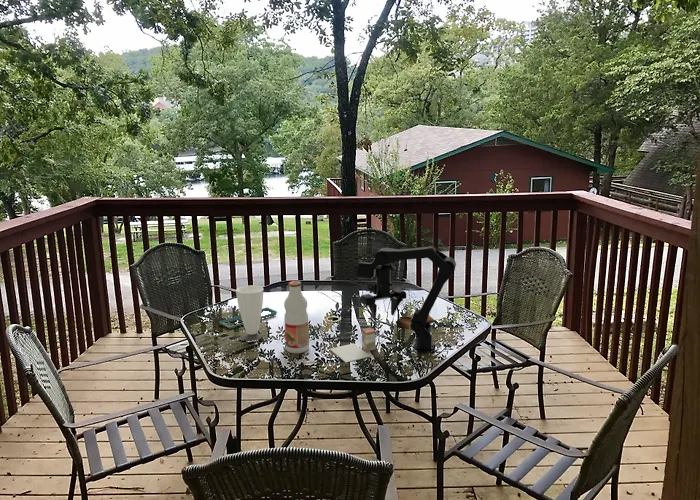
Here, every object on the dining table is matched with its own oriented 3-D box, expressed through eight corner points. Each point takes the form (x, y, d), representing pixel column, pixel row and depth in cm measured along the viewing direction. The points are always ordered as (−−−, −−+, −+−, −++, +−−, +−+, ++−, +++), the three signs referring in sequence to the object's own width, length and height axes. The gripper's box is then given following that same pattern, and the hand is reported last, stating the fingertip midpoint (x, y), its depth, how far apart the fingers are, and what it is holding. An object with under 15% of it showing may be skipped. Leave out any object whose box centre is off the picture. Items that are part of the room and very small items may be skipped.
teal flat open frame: (229, 331, 231) (228, 326, 231) (219, 325, 238) (218, 320, 238) (278, 316, 248) (277, 311, 248) (267, 311, 255) (267, 307, 255)
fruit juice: (309, 353, 206) (307, 285, 200) (285, 354, 205) (282, 286, 199) (309, 343, 215) (306, 278, 209) (286, 345, 214) (283, 279, 208)
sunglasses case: (410, 330, 227) (404, 316, 229) (400, 334, 233) (394, 320, 234) (437, 320, 238) (432, 306, 240) (427, 324, 244) (422, 310, 245)
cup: (239, 344, 216) (236, 294, 211) (238, 334, 227) (234, 286, 222) (267, 340, 219) (265, 291, 214) (264, 331, 230) (262, 284, 225)
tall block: (375, 349, 209) (375, 330, 207) (366, 351, 207) (366, 332, 205) (370, 345, 212) (370, 327, 210) (361, 347, 210) (361, 329, 209)
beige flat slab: (371, 356, 202) (371, 355, 202) (345, 362, 197) (345, 362, 197) (353, 344, 214) (353, 343, 214) (329, 349, 209) (329, 348, 209)
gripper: (392, 272, 218) (392, 307, 221) (353, 278, 210) (353, 315, 213) (407, 278, 208) (407, 315, 212) (366, 285, 200) (366, 323, 203)
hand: (383, 317), depth 210 cm, fingers open, 8 cm apart
